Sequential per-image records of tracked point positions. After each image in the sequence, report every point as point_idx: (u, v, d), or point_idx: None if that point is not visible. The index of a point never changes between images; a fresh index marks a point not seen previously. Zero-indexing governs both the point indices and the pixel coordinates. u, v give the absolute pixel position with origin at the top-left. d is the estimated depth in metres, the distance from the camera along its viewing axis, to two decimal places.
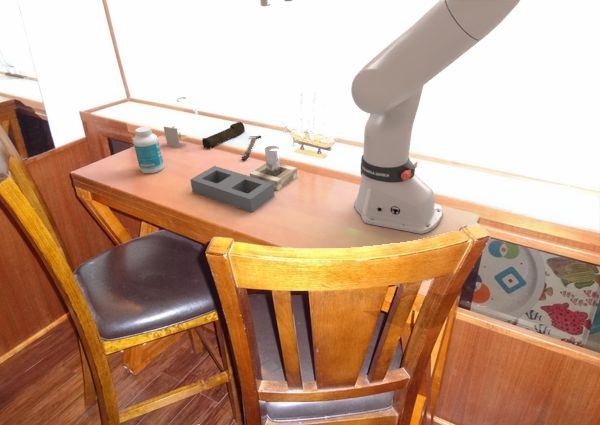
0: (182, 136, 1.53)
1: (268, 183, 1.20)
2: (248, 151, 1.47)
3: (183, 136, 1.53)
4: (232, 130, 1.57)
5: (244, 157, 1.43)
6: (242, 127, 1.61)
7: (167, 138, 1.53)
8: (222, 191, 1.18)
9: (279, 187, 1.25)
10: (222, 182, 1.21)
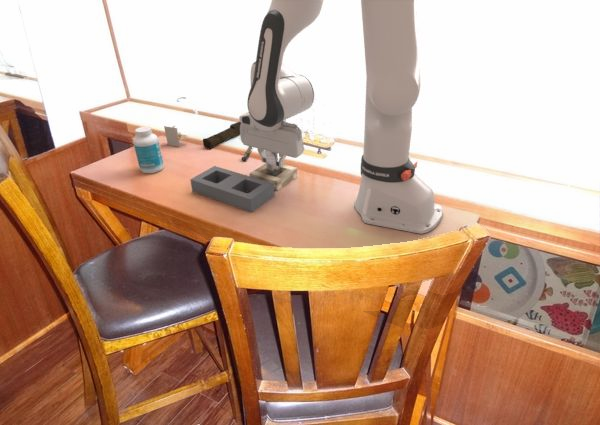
0: (182, 136, 1.53)
1: (268, 183, 1.20)
2: (248, 152, 1.47)
3: (183, 136, 1.53)
4: (232, 130, 1.57)
5: (244, 157, 1.42)
6: None
7: (167, 138, 1.54)
8: (222, 191, 1.18)
9: (279, 187, 1.25)
10: (222, 182, 1.21)
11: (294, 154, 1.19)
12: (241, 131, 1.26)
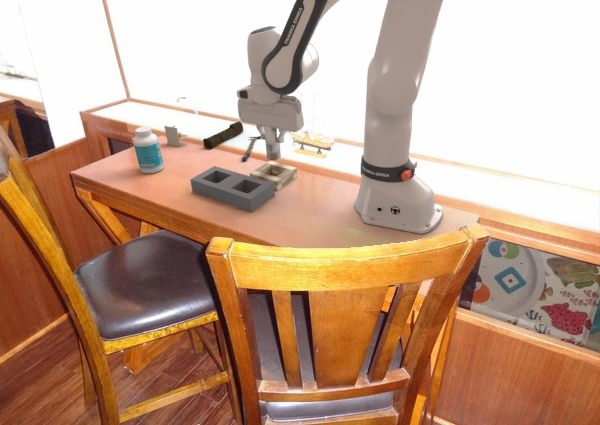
0: (182, 136, 1.53)
1: (268, 183, 1.20)
2: (248, 152, 1.47)
3: (183, 136, 1.53)
4: (232, 130, 1.57)
5: (244, 158, 1.42)
6: (241, 127, 1.62)
7: (168, 137, 1.54)
8: (222, 191, 1.18)
9: (279, 187, 1.25)
10: (222, 182, 1.21)
11: (294, 128, 1.15)
12: (239, 107, 1.22)
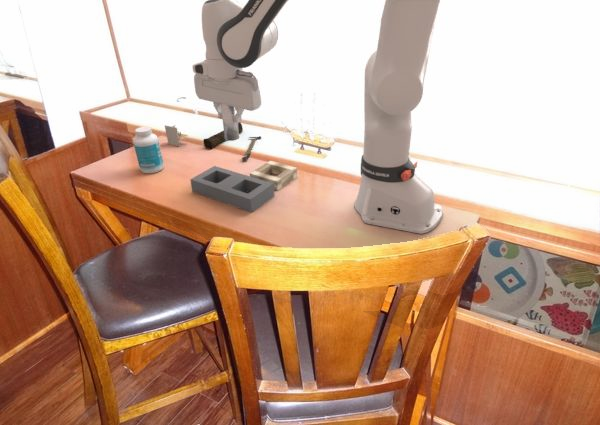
0: (182, 135, 1.54)
1: (268, 183, 1.20)
2: (248, 152, 1.46)
3: (183, 135, 1.54)
4: None
5: (244, 158, 1.42)
6: (240, 127, 1.62)
7: (168, 137, 1.54)
8: (222, 191, 1.18)
9: (279, 187, 1.25)
10: (222, 182, 1.21)
11: (250, 106, 1.09)
12: (195, 83, 1.16)
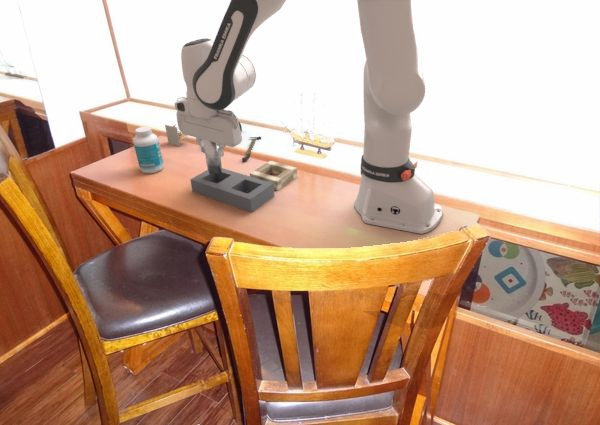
0: (183, 135, 1.54)
1: (268, 183, 1.20)
2: (248, 152, 1.46)
3: (184, 135, 1.54)
4: None
5: (244, 158, 1.42)
6: (240, 126, 1.62)
7: (168, 136, 1.55)
8: (222, 191, 1.18)
9: (279, 187, 1.25)
10: (222, 182, 1.21)
11: (231, 143, 1.12)
12: (178, 119, 1.18)
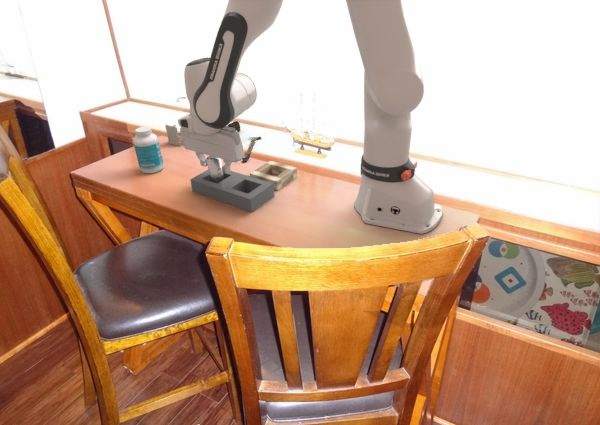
0: None
1: (268, 183, 1.20)
2: (248, 153, 1.46)
3: None
4: None
5: (245, 158, 1.42)
6: (238, 126, 1.62)
7: (168, 136, 1.55)
8: (222, 191, 1.18)
9: (279, 187, 1.25)
10: (222, 182, 1.21)
11: (233, 159, 1.14)
12: (181, 135, 1.21)
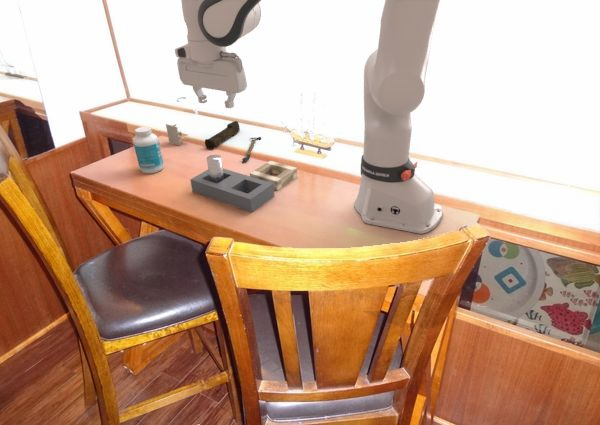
0: (183, 135, 1.54)
1: (268, 183, 1.20)
2: (248, 153, 1.46)
3: (184, 135, 1.54)
4: (230, 129, 1.58)
5: (245, 159, 1.41)
6: (238, 126, 1.62)
7: (169, 135, 1.55)
8: (222, 191, 1.18)
9: (279, 187, 1.25)
10: (222, 182, 1.21)
11: (235, 88, 1.06)
12: (179, 68, 1.12)
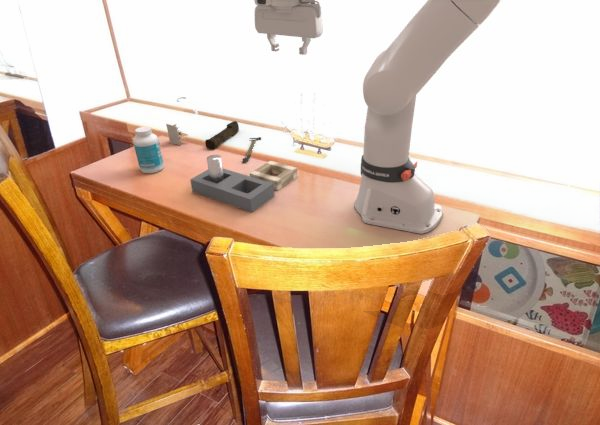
0: (183, 134, 1.54)
1: (268, 183, 1.20)
2: (248, 153, 1.46)
3: (184, 134, 1.54)
4: (230, 129, 1.58)
5: (245, 159, 1.41)
6: (237, 126, 1.63)
7: (169, 135, 1.56)
8: (222, 191, 1.18)
9: (279, 187, 1.25)
10: (222, 182, 1.21)
11: (313, 33, 1.12)
12: (256, 16, 1.19)
